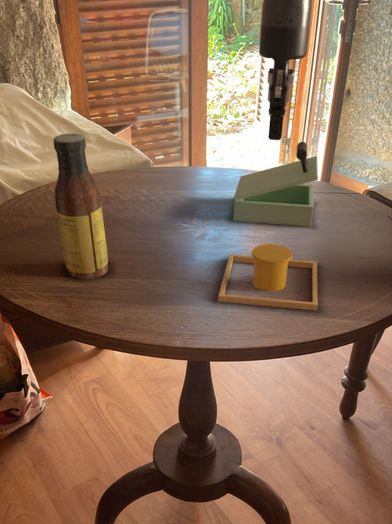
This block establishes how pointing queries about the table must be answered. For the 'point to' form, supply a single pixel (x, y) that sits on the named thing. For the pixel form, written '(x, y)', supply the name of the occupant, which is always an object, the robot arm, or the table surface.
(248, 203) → the green storage bin
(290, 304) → the tray
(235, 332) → the table surface
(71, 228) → the sauce bottle
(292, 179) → the lid
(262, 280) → the cylinder
